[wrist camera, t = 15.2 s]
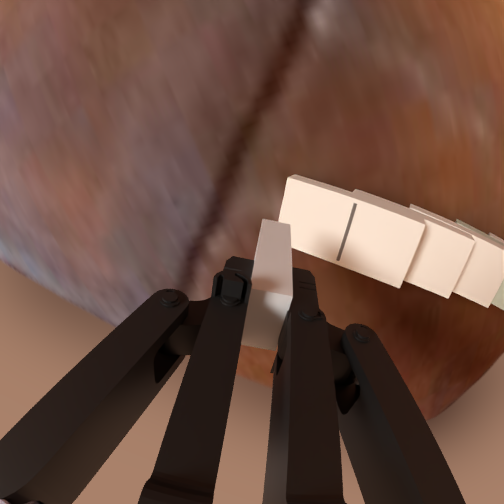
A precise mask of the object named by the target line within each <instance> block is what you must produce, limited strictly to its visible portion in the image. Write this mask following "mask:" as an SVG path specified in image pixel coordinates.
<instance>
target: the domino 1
mask: <svg viewBox="0 0 504 504" xmlns="http://www.w3.org/2000/svg"><path fill="white" fill-rule="evenodd" d="M278 222H281V223H286V224H290V228H291V247H292V248H294V249H297V250H300V251H302V252H305V253H308V254H310V255H313V256H316V257H318V258H321V259H324V260H326V261H329V262H332V263H334V264H337V265H340V266H342V267H345V268H348V269H350V270H353V271H355V272H358V273H361V274H363V275H366V276H368V277H371V278H374V279H376V280H379V281H381V282H384V283H387V284H389V285H392V286H394V287H397V288H400V286H401V284H402V282H403V280H404V277H405V275H406V273H407V270H408V268H409V266H410V263H411V261H412V259H413V256H414V254H415V251H416V249H417V246H418V244H419V241H420V239H421V236H422V233H423V231H424V228H425V225H426V224H425V221H424V219H423V218H421V217H418V216H416V215H413V214H411V213H408V212H406V211H403V210H400V209H398V208H395V207H392V206H390V205H387V204H384V203H381V202H379V201H376V200H373V199H370V198H367V197H364V196H362V195H359V194H356V193H353V192H350V191H347V190H344V189H341V188H338V187H335V186H331V185H328V184H325V183H322V182H319V181H315V180H312V179H309V178H306V177H302V176H299V175H292V176H290V177H288V179H287V183H286V188H285V193H284V198H283V202H282V207H281V211H280V216H279V221H278Z"/></svg>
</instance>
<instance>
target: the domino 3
mask: <svg viewBox="0 0 504 504" xmlns="http://www.w3.org/2000/svg"><path fill="white" fill-rule="evenodd" d="M409 208H410V209H412V210H415V211H417V212H420V213H422V214H425V215H427V216H430V217H432V218H434V219H437V220H439V221H442V222H444V223H446V224H449V225H451V226H453V227H456V228H458V229H460V230H462V231H464V232H467V233H469V234H471V235H472V237H473V238H474V240H475V243H474V245H473V248H472V250H471V252H470V255H469V257H468V259H467V261H466V264H465V266H464V268H463V270H462V272H461V274H460V276H459V278H458V280H457V283H456V285H455V287H454V288H453V290H452V292H454V293H456V294H459V295H461V296H463V297H465V298H467V299H470V300H472V301H474V302H476V303H478V304H480V305H483V306H485V307H487V308H488V307H489V306H490V304H491V302H492V300H493V298H494V297H495V295H496V293H497V291H498V289H499V287H500V285H501V283H502V281H503V279H504V246H503V245H501V244H499V243H497V242H495V241H493V240H491V239H489V238H487V237H485V236H483V235H481V234H478V233H476V232H474V231H472V230H470V229H468V228H466V227H464V226H462V225H459V224H457V223H455V222H453V221H450V220H448V219H446V218H444V217H441V216H439V215H437V214H434V213H432V212H430V211H427V210H425V209H423V208H420V207H418V206H415V205H413V204H410V207H409Z"/></svg>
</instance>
